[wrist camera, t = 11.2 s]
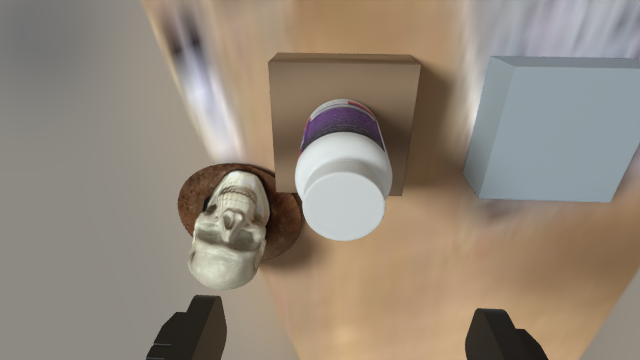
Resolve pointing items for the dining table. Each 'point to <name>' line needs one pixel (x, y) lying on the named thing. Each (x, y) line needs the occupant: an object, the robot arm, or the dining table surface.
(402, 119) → the walnut block
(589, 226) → the dining table surface
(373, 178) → the pill bottle
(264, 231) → the skull
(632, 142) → the slate block
